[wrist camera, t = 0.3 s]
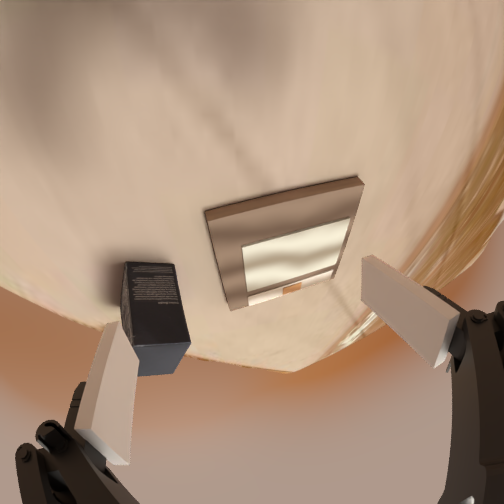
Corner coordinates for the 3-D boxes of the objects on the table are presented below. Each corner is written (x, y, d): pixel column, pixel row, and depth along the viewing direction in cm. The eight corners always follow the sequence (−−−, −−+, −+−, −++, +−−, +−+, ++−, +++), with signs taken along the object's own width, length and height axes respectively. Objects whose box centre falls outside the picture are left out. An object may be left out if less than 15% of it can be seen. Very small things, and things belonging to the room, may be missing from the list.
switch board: (204, 211, 27) (208, 224, 26) (357, 176, 30) (366, 186, 29) (227, 303, 43) (230, 313, 42) (330, 271, 46) (334, 279, 45)
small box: (162, 308, 39) (175, 375, 32) (119, 307, 35) (127, 378, 29) (177, 263, 32) (195, 345, 26) (124, 260, 29) (130, 347, 22)
